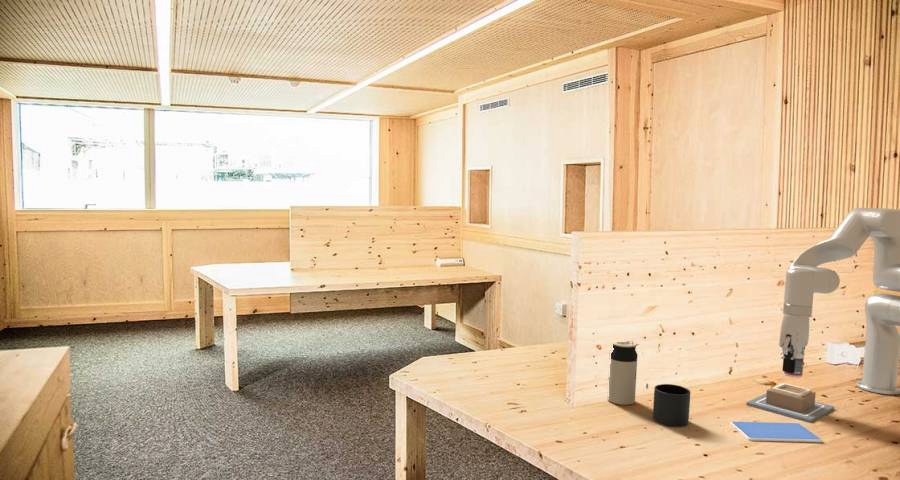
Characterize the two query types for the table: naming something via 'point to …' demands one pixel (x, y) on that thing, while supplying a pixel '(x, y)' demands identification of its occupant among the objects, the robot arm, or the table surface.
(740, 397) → the table surface
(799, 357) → the pill bottle
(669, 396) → the mug
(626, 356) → the travel mug
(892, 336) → the robot arm
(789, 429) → the blue rectangular panel
